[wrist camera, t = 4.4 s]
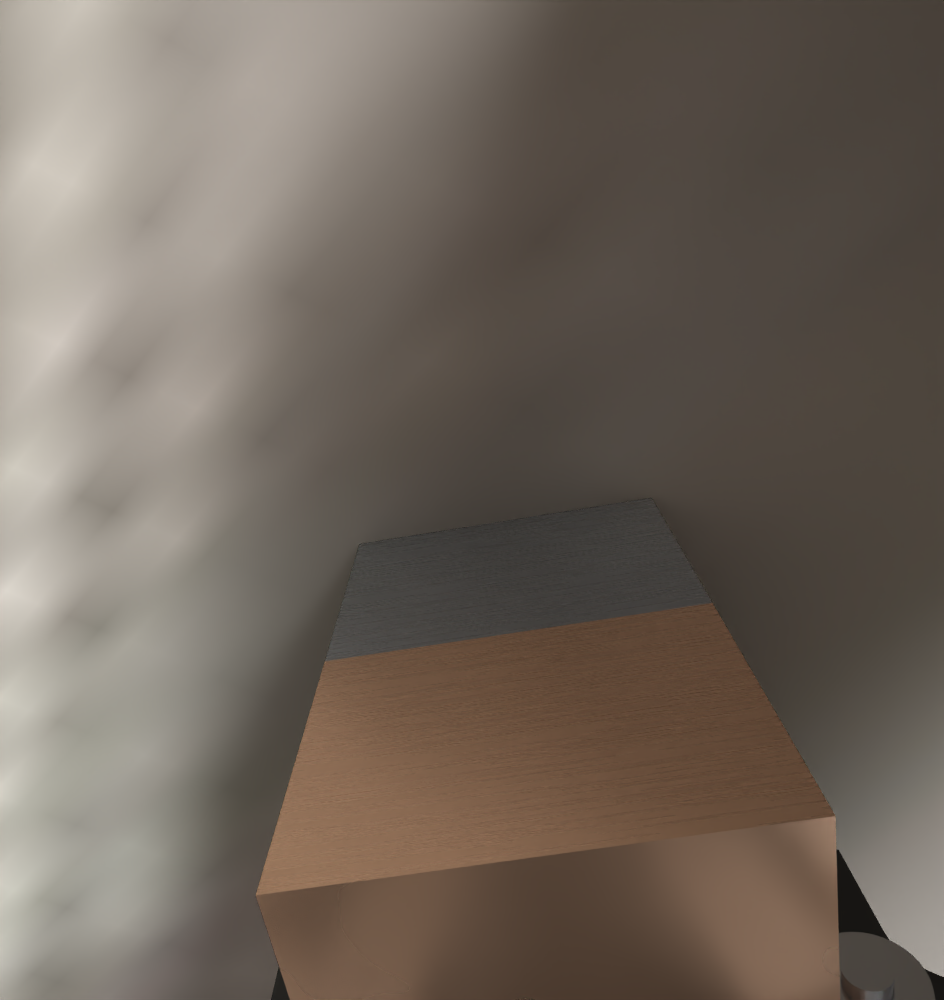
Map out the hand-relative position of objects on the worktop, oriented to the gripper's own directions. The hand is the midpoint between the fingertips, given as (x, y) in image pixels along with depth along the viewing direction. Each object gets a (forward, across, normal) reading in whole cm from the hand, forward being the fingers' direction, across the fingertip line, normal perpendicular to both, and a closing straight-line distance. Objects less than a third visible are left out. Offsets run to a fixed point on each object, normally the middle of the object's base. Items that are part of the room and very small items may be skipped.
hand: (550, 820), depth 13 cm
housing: (+1, 0, 0) cm, 1 cm away
